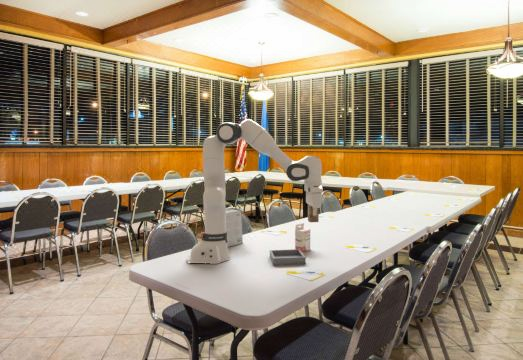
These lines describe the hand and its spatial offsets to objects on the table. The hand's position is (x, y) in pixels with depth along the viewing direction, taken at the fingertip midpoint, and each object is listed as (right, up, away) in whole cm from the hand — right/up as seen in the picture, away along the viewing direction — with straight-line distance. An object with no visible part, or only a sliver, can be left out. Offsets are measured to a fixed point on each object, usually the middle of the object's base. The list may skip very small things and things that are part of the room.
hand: (313, 214), depth 206 cm
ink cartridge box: (-3, -22, +20) cm, 30 cm away
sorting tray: (-13, -23, 0) cm, 27 cm away
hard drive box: (-46, -22, +36) cm, 62 cm away
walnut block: (0, -4, 0) cm, 4 cm away
